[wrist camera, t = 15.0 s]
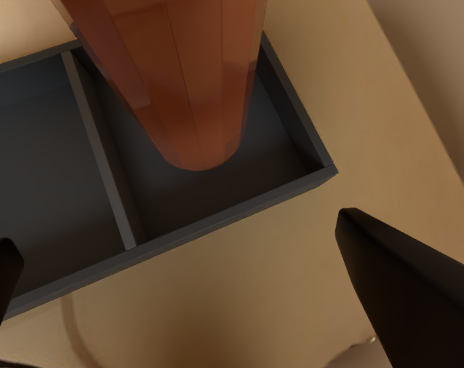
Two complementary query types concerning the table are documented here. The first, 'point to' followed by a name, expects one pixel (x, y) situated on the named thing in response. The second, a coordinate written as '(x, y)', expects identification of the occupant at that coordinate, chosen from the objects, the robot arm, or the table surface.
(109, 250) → the tray
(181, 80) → the cup
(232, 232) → the table surface
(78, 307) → the table surface
